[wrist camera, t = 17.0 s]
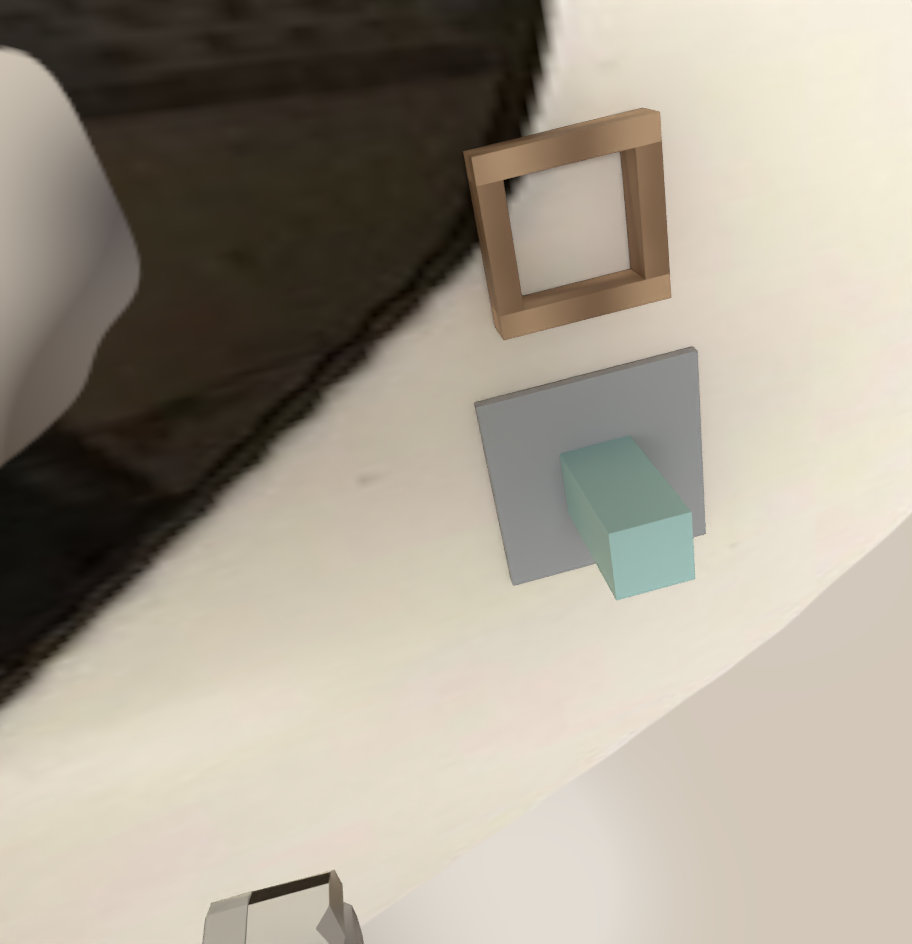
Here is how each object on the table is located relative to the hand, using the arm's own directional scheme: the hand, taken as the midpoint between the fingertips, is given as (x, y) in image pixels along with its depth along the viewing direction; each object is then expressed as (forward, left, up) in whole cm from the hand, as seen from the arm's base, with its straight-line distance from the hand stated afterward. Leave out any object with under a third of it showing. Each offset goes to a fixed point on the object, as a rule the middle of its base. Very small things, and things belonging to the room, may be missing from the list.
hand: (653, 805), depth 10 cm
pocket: (+8, -1, -31) cm, 32 cm away
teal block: (+8, -15, -30) cm, 35 cm away
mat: (+8, -15, -31) cm, 35 cm away
